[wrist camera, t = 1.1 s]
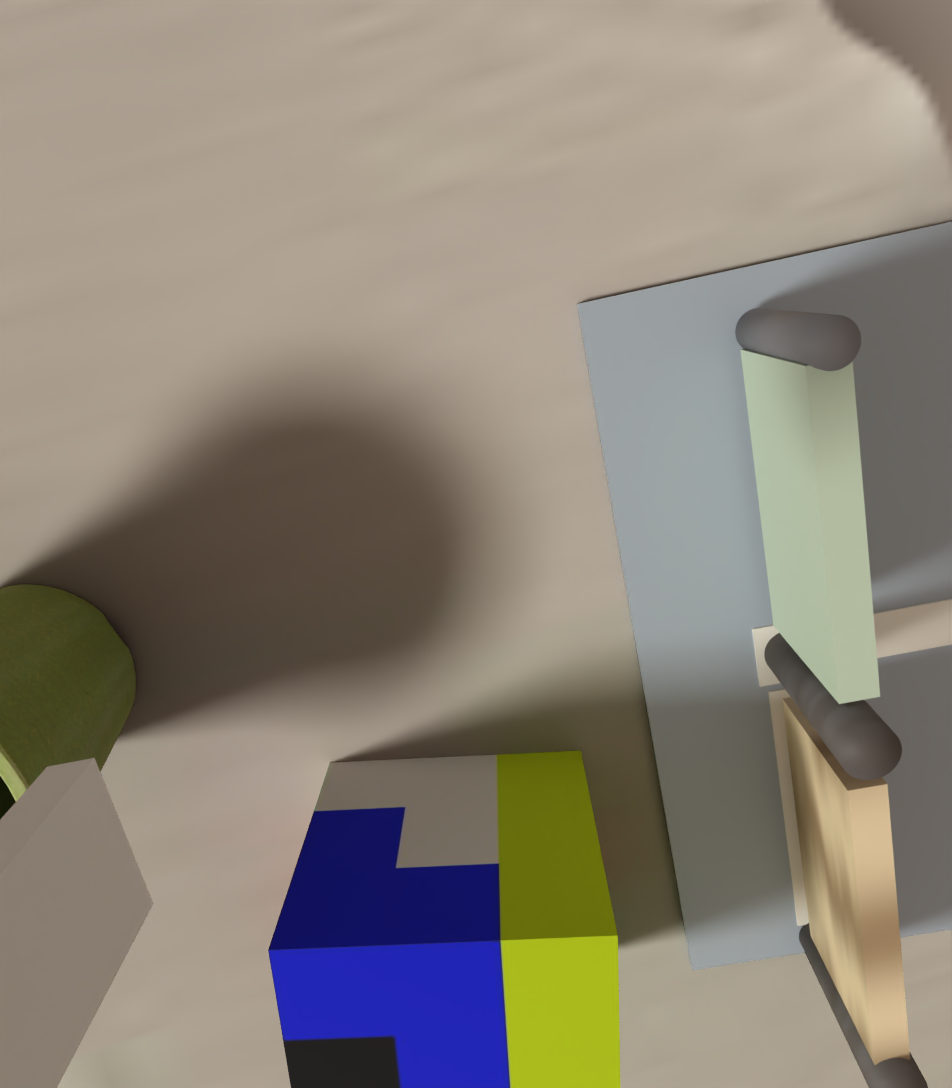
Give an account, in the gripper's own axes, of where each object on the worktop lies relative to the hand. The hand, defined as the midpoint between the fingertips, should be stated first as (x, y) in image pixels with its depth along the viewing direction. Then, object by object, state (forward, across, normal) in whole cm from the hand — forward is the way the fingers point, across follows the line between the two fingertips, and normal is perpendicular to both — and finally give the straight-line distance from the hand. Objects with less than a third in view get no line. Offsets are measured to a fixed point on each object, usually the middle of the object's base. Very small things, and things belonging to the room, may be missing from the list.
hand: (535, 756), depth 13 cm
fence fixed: (+18, +9, -15) cm, 26 cm away
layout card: (+18, +12, -9) cm, 24 cm away
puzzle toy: (+19, -5, -16) cm, 25 cm away
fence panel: (+18, +9, -2) cm, 20 cm away
